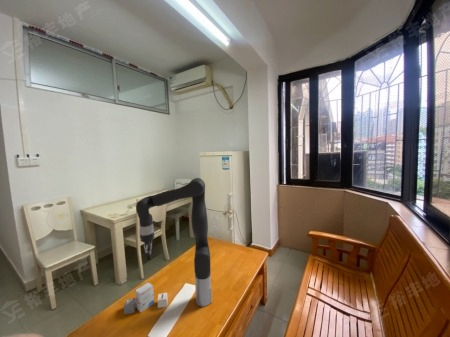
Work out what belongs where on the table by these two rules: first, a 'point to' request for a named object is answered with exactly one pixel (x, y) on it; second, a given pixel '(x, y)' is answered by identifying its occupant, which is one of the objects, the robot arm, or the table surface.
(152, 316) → the table surface
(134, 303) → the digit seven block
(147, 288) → the ink box
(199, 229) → the robot arm
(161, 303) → the digit one block
